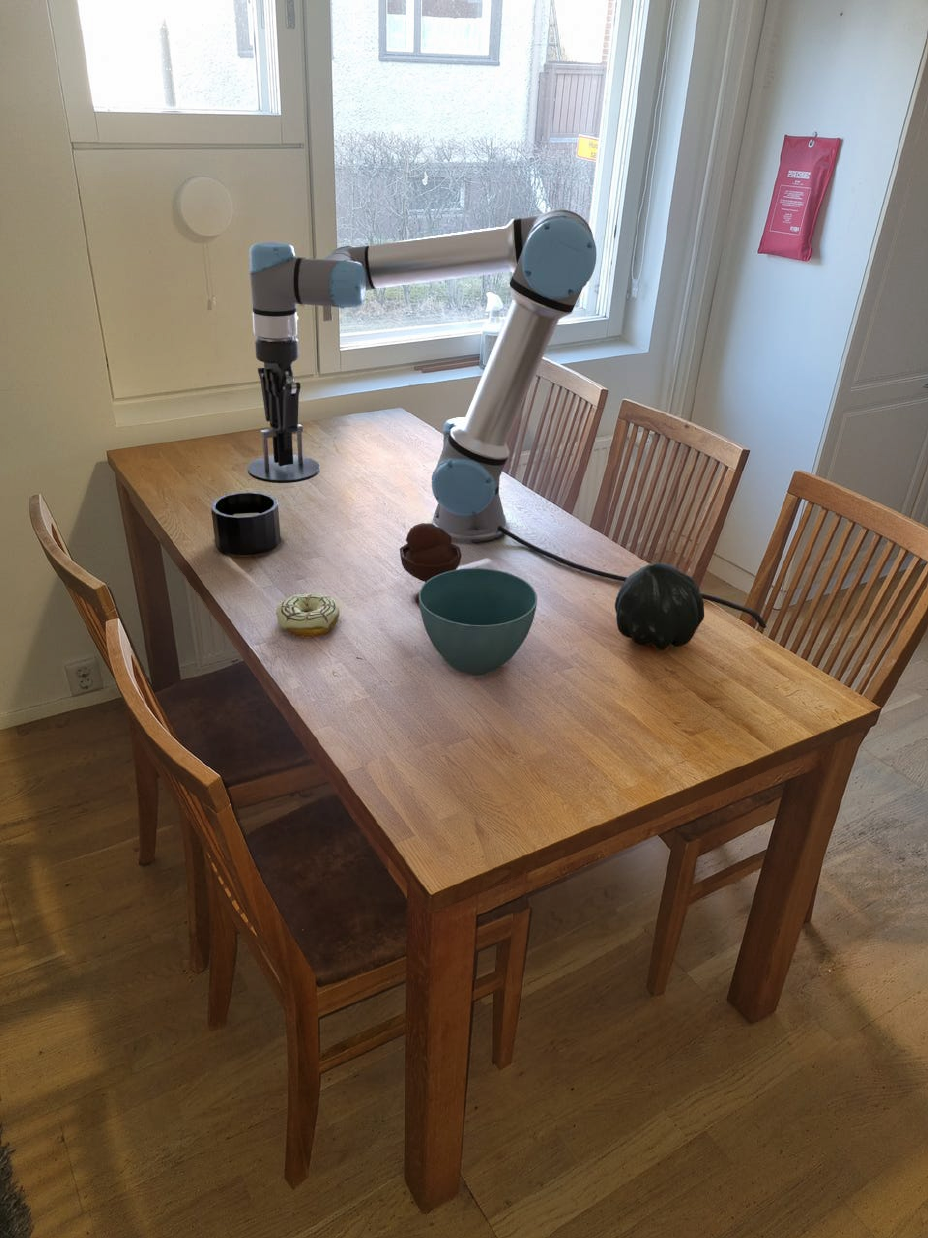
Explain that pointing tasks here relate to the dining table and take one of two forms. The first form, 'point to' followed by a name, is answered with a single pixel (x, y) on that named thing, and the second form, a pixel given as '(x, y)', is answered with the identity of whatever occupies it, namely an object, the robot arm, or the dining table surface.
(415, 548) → the ice cream bowl
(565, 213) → the robot arm
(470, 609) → the teal bowl
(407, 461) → the dining table surface
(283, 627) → the decorated donut
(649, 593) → the squash
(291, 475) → the lid
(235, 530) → the pot
